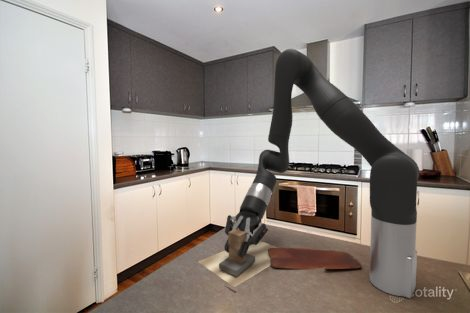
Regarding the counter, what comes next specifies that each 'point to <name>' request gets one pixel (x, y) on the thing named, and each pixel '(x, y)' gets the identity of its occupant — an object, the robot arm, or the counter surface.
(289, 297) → the counter surface
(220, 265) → the block
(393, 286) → the robot arm
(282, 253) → the wooden tablet
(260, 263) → the birch board
